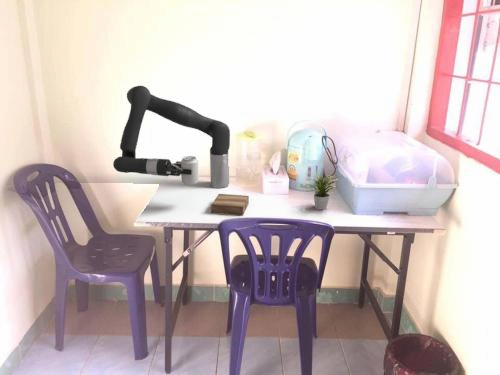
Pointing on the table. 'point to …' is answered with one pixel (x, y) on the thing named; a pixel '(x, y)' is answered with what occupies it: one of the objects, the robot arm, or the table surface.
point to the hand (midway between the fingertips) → (194, 169)
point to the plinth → (230, 204)
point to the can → (192, 164)
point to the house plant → (322, 191)
